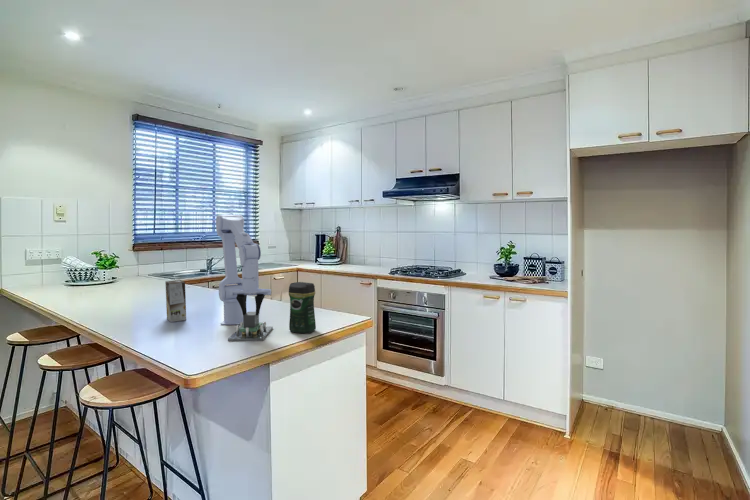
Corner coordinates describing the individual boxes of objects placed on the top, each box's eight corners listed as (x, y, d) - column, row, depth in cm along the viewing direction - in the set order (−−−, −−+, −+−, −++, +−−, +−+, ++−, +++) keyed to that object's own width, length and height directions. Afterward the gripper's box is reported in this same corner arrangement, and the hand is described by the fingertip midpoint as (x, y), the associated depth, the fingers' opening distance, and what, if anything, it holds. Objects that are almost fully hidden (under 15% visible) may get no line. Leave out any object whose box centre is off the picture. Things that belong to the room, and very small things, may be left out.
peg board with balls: (241, 328, 156) (241, 318, 155) (272, 328, 156) (272, 318, 156) (228, 341, 140) (227, 329, 139) (263, 340, 140) (262, 329, 140)
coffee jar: (319, 330, 154) (318, 281, 153) (306, 335, 147) (306, 284, 146) (298, 327, 158) (298, 280, 157) (285, 332, 151) (284, 282, 150)
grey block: (246, 325, 152) (246, 310, 152) (262, 325, 152) (262, 310, 152) (239, 331, 143) (239, 316, 143) (256, 331, 143) (256, 316, 143)
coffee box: (187, 320, 169) (185, 282, 168) (170, 322, 166) (168, 283, 165) (182, 316, 177) (181, 279, 176) (166, 318, 173) (164, 281, 172)
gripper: (226, 279, 142) (227, 317, 143) (268, 279, 143) (268, 317, 144) (232, 276, 149) (233, 313, 150) (272, 276, 150) (273, 312, 151)
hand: (251, 314), depth 147 cm, fingers closed on grey block, 4 cm apart
